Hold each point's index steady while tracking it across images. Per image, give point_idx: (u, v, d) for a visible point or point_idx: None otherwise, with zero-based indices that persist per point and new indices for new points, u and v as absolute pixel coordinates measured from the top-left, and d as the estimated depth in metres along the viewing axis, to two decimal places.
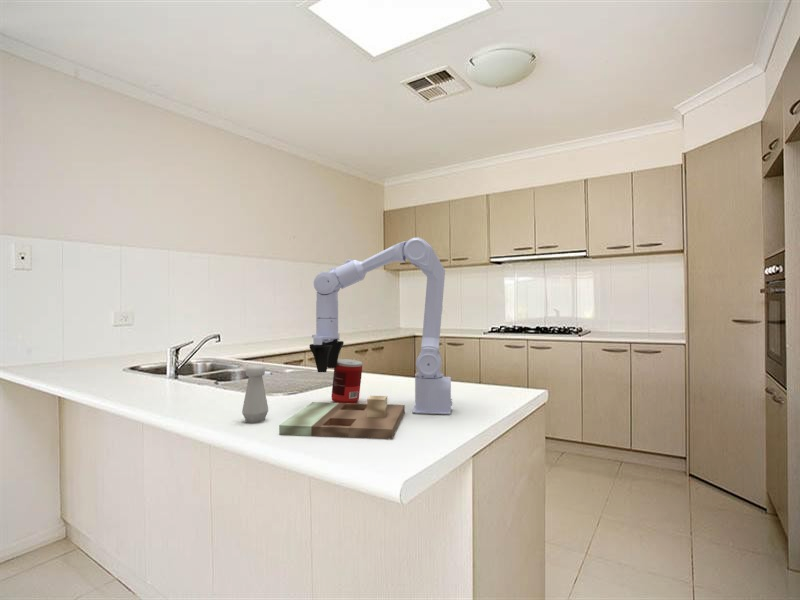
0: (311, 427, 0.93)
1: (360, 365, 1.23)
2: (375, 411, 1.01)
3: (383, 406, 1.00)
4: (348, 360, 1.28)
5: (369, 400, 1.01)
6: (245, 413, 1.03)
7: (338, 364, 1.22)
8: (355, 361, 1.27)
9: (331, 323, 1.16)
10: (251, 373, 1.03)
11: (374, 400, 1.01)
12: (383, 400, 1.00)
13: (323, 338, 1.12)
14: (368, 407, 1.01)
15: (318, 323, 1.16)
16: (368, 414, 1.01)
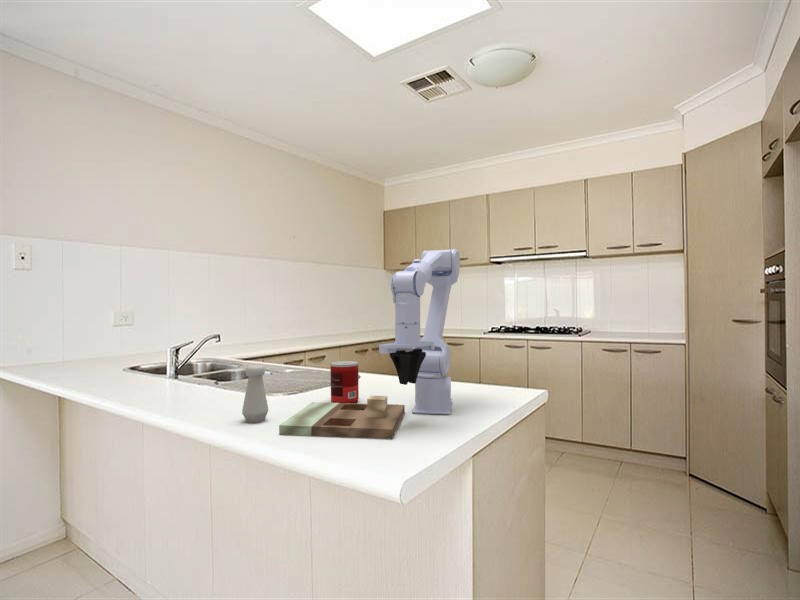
0: (311, 427, 0.93)
1: (356, 364, 1.24)
2: (375, 411, 1.01)
3: (383, 406, 1.00)
4: (344, 362, 1.28)
5: (369, 400, 1.01)
6: (245, 413, 1.03)
7: (333, 366, 1.22)
8: (351, 362, 1.28)
9: (405, 329, 0.99)
10: (251, 373, 1.03)
11: (374, 400, 1.01)
12: (383, 400, 1.00)
13: (389, 346, 0.97)
14: (368, 407, 1.01)
15: (395, 329, 1.02)
16: (368, 414, 1.01)
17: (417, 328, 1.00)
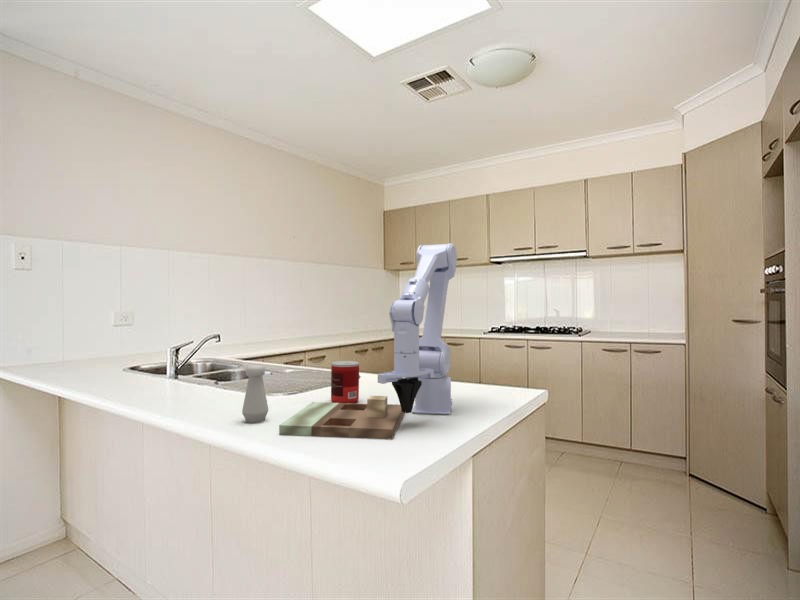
0: (311, 427, 0.93)
1: (356, 365, 1.24)
2: (375, 411, 1.01)
3: (383, 406, 1.00)
4: (345, 362, 1.28)
5: (369, 400, 1.01)
6: (245, 413, 1.03)
7: (334, 365, 1.22)
8: (352, 362, 1.28)
9: (404, 359, 0.99)
10: (251, 373, 1.03)
11: (374, 400, 1.01)
12: (383, 400, 1.00)
13: (388, 376, 0.97)
14: (368, 407, 1.01)
15: (394, 357, 1.02)
16: (368, 414, 1.01)
17: (416, 357, 1.00)
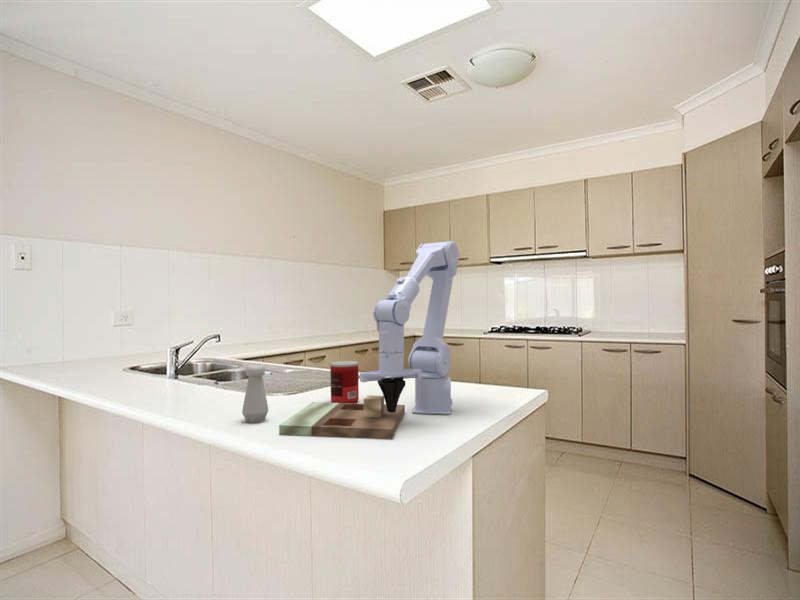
0: (311, 427, 0.93)
1: (356, 364, 1.23)
2: (371, 410, 1.01)
3: (379, 406, 1.01)
4: (344, 362, 1.28)
5: (365, 400, 1.01)
6: (245, 413, 1.03)
7: (333, 366, 1.22)
8: (351, 362, 1.28)
9: (386, 358, 1.00)
10: (251, 373, 1.03)
11: (370, 400, 1.01)
12: (379, 400, 1.01)
13: (368, 375, 0.99)
14: (364, 407, 1.01)
15: None
16: (364, 414, 1.01)
17: (398, 357, 1.00)
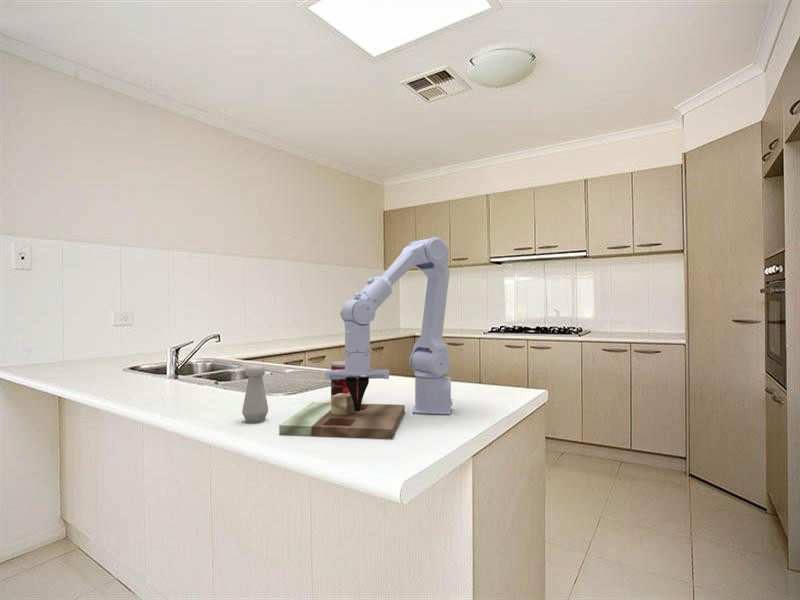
0: (311, 427, 0.93)
1: None
2: (338, 408, 1.03)
3: (345, 404, 1.03)
4: None
5: (333, 397, 1.04)
6: (245, 413, 1.03)
7: (334, 365, 1.22)
8: None
9: (348, 357, 1.01)
10: (251, 373, 1.03)
11: (337, 397, 1.03)
12: (345, 398, 1.03)
13: (331, 373, 1.02)
14: (332, 404, 1.04)
15: None
16: (332, 411, 1.04)
17: (359, 357, 1.00)
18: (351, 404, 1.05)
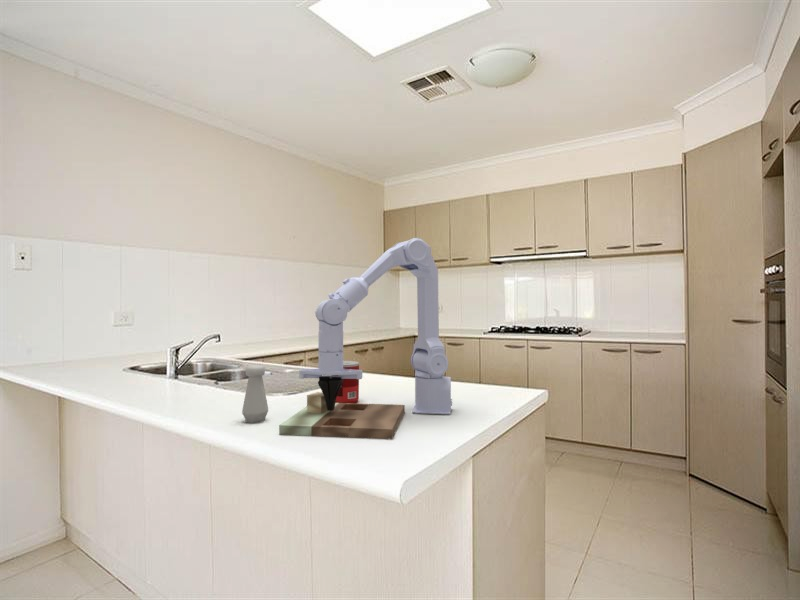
0: (311, 427, 0.93)
1: (356, 365, 1.23)
2: (313, 407, 1.05)
3: (320, 403, 1.04)
4: (345, 361, 1.28)
5: (308, 396, 1.05)
6: (245, 413, 1.03)
7: None
8: (352, 362, 1.28)
9: (320, 357, 1.02)
10: (251, 373, 1.03)
11: (312, 396, 1.05)
12: (320, 397, 1.04)
13: (304, 372, 1.03)
14: (308, 403, 1.05)
15: None
16: (308, 409, 1.05)
17: (330, 356, 1.01)
18: None
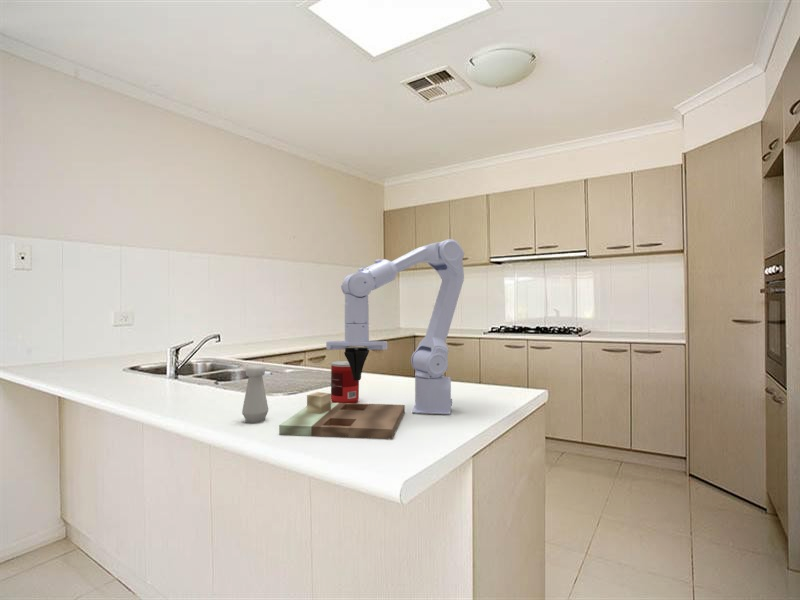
0: (311, 427, 0.93)
1: None
2: (313, 407, 1.05)
3: (320, 403, 1.04)
4: (345, 362, 1.28)
5: (308, 396, 1.05)
6: (245, 413, 1.03)
7: (334, 365, 1.22)
8: None
9: (346, 328, 1.06)
10: (251, 373, 1.03)
11: (312, 396, 1.05)
12: (320, 397, 1.04)
13: (331, 343, 1.07)
14: (308, 403, 1.05)
15: None
16: (308, 409, 1.05)
17: (356, 328, 1.04)
18: (327, 403, 1.06)
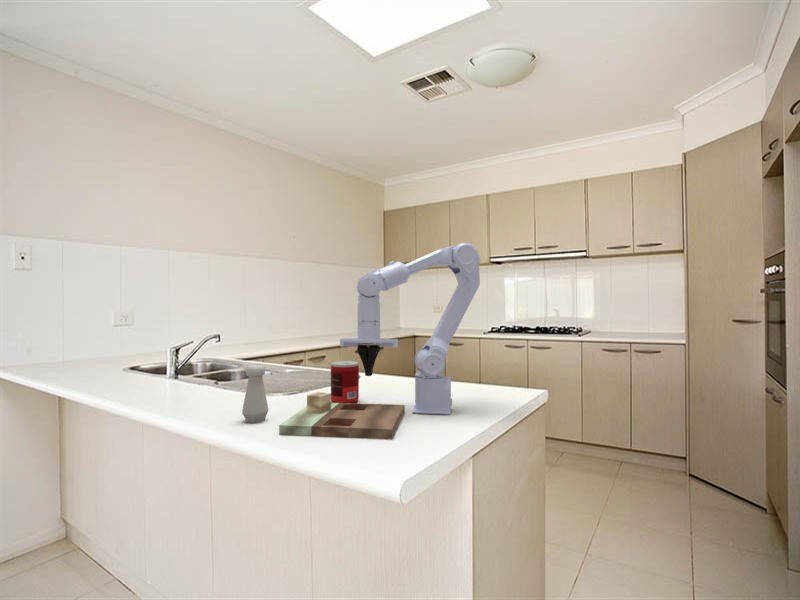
0: (311, 427, 0.93)
1: (356, 365, 1.23)
2: (313, 407, 1.05)
3: (320, 403, 1.04)
4: (345, 361, 1.28)
5: (308, 396, 1.05)
6: (245, 413, 1.03)
7: (333, 366, 1.22)
8: (352, 362, 1.27)
9: (359, 326, 1.11)
10: (251, 373, 1.03)
11: (312, 396, 1.05)
12: (320, 397, 1.04)
13: (345, 340, 1.13)
14: (308, 403, 1.05)
15: None
16: (308, 409, 1.05)
17: (369, 326, 1.10)
18: (327, 403, 1.06)
